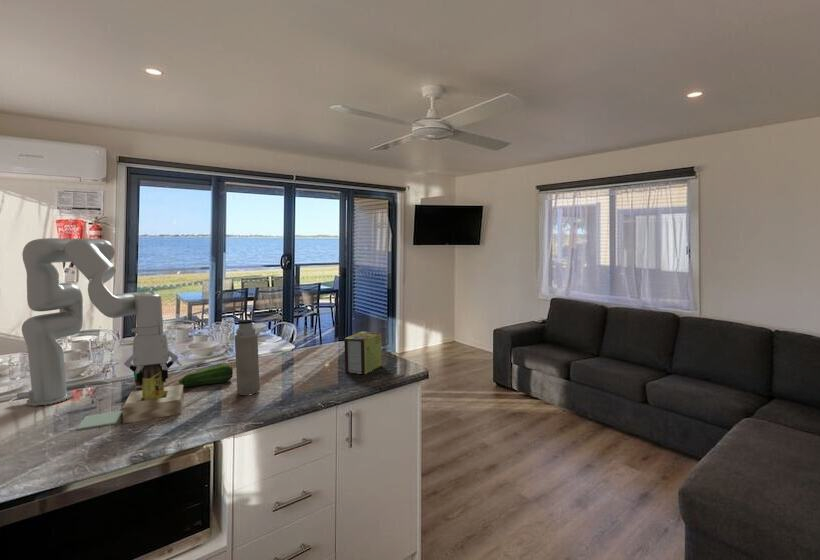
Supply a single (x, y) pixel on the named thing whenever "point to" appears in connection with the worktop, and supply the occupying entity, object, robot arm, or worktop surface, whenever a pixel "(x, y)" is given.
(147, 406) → the socket block
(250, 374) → the thermos bottle
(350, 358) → the protein box
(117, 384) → the worktop surface
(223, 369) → the vegetable
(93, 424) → the pad
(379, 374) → the worktop surface
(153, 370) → the sauce bottle
